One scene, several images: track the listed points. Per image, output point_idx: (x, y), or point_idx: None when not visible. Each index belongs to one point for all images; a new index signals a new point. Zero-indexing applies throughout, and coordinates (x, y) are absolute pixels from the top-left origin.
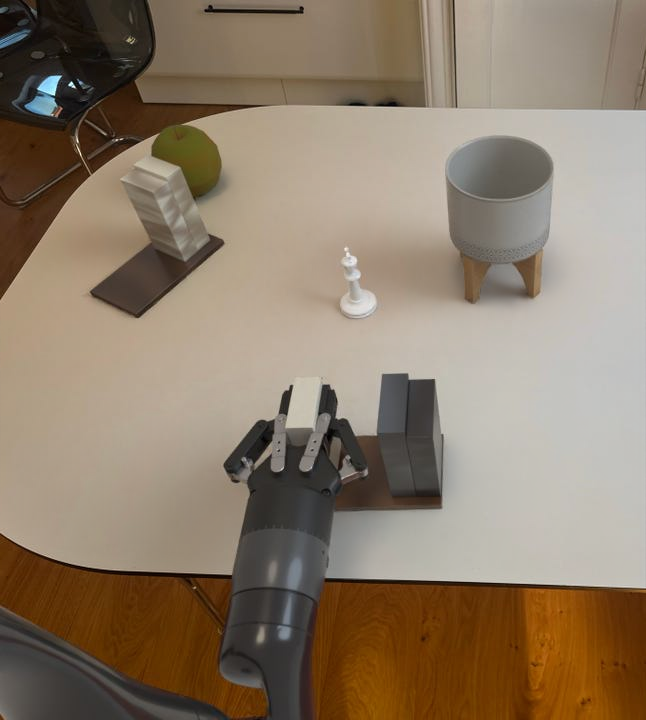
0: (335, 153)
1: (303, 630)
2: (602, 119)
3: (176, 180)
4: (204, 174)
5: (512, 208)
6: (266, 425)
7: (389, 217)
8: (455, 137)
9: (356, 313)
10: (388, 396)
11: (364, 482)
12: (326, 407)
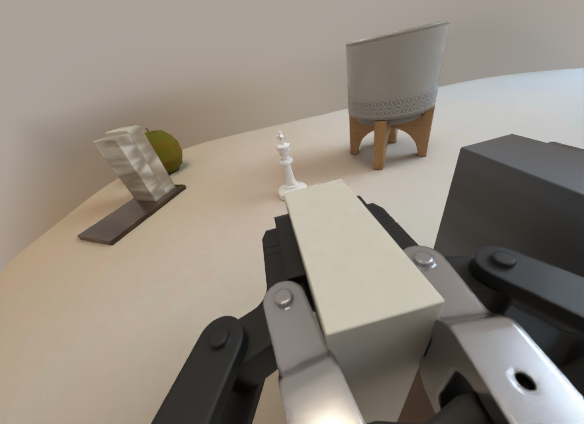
0: (248, 141)
1: None
2: None
3: (137, 134)
4: (170, 154)
5: (432, 37)
6: (239, 337)
7: (290, 152)
8: (309, 122)
9: None
10: (546, 165)
11: None
12: None
